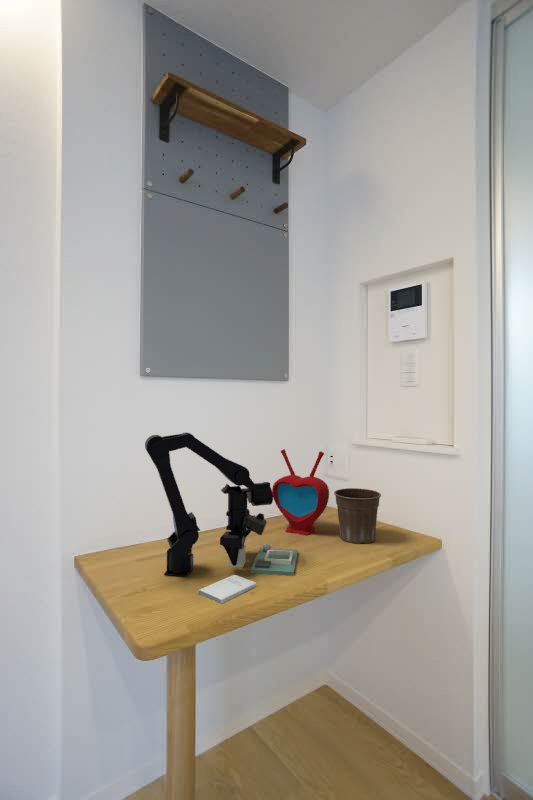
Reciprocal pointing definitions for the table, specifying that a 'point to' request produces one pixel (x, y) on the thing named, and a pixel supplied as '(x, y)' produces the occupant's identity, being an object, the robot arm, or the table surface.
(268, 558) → the board
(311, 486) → the novelty television
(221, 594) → the external hard drive
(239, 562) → the plug
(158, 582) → the table surface
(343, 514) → the plant pot
